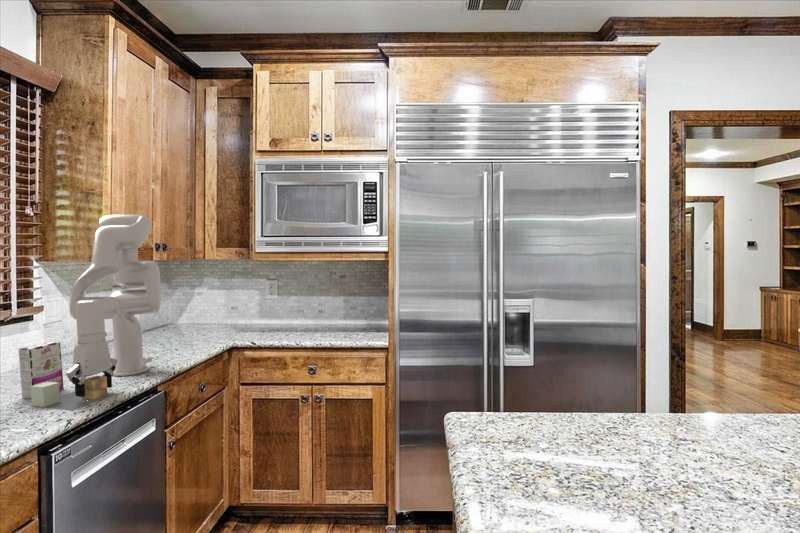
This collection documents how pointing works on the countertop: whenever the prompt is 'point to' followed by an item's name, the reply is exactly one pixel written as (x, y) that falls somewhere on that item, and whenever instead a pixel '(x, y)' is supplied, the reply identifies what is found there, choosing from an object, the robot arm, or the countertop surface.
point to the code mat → (73, 402)
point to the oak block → (95, 387)
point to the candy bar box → (40, 366)
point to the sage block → (45, 394)
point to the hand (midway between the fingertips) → (94, 391)
